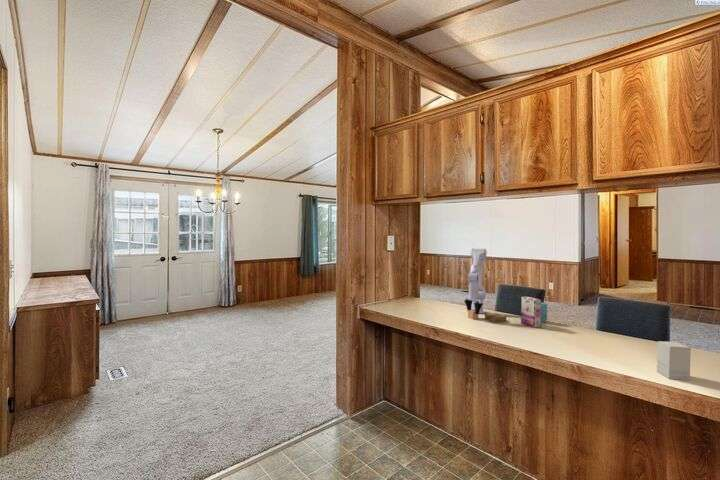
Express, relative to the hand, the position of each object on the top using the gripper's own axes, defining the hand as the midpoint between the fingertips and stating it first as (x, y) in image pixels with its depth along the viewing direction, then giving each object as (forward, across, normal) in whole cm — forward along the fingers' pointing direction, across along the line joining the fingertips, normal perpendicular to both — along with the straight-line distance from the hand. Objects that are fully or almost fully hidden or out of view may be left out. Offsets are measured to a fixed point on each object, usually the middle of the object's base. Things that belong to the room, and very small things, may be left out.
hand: (473, 312), depth 226 cm
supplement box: (+4, +101, +12) cm, 102 cm away
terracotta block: (+4, 0, 0) cm, 4 cm away
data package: (+4, +20, +32) cm, 38 cm away
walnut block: (+4, +9, +10) cm, 14 cm away
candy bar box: (+4, +26, +21) cm, 34 cm away
